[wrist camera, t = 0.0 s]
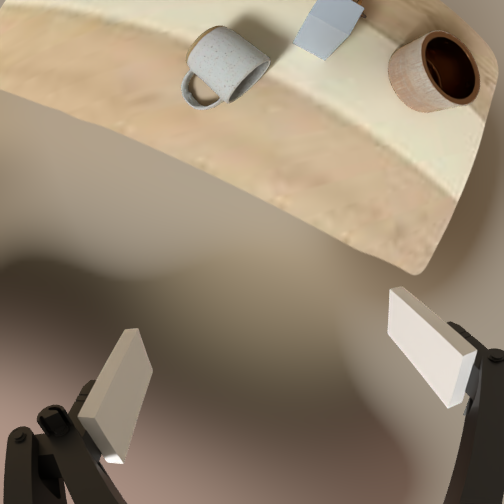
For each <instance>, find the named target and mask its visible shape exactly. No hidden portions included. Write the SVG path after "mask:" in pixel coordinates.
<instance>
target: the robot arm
mask: <svg viewBox="0 0 504 504" xmlns="http://www.w3.org/2000/svg"><path fill="white" fill-rule="evenodd" d="M388 319H389V320H388V335H389V336H390V337H391V338H392V339H393V341H394V342H395V343H396V344H397V346H398V347H399V348H400V349H401V350H402V352H403V353H404V354H405V355H406V356H407V358H408V359H409V360H410V361H411V363H412V364H413V365H414V366H415V367H416V369H417V370H418V371H419V372H420V374H421V375H422V376H423V377H424V379H425V380H426V381H427V383H428V384H429V385H430V386H431V388H432V389H433V390H434V391H435V393H436V394H437V395H438V396H439V398H440V399H441V400H442V402H443V403H444V404H445V406H446V407H447V408H450V407H452V406H455V405H457V404H459V403H461V402H462V399H463V397H464V394H465V392H466V393H467V394H468V395H469V396H470V398H469V401H468V403H467V406H466V409H465V411H464V414H463V415H466V417H465V422H464V427H463V433H462V437H461V442H460V446H459V451H458V455H457V459H456V463H455V467H454V470H453V474H452V477H451V481H450V485H449V487H448V491H447V494H446V497H445V500H444V503H443V504H502V499H503V494H504V351H503V350H501V349H489V350H488V349H487V348H486V347H485V346H484V345H482V344H481V343H480V342H479V341H478V340H477V339H475V338H474V337H473V336H471V335H470V334H469V333H468V332H466V331H465V329H463V328H462V327H461V326H460V325H457V324H455V323H453V322H447V323H446V322H445V321H444V320H442V319H441V318H440V317H439V316H438V315H436V314H435V313H434V312H433V311H432V310H431V309H429V308H428V307H426V305H424V304H423V303H422V302H421V301H420V300H418V299H417V298H416V297H415V296H413V295H412V294H411V293H410V292H409V291H407V290H406V289H405V288H404V287H402V286H401V287H397V288H392V289H390V298H389V318H388ZM152 372H153V370H152V367H151V364H150V362H149V359H148V356H147V353H146V350H145V347H144V345H143V342H142V339H141V336H140V333H139V330H138V328H135V329H126V330H124V332H123V334H122V335H121V337H120V339H119V341H118V342H117V344H116V346H115V348H114V349H113V351H112V353H111V355H110V356H109V358H108V360H107V362H106V364H105V365H104V367H103V369H102V371H101V373H100V374H99V376H98V378H97V380H90V381H89V382H88V383H87V384H86V385H85V386H83V388H82V390H81V392H80V394H79V396H78V397H77V399H76V402H74V404H73V406H72V408H71V410H70V412H69V413H68V414H67V412H66V410H65V409H64V408H63V407H62V406H60V405H51V406H48V407H46V408H44V409H43V410H42V411H41V412H40V413H39V414H38V416H37V422H38V424H39V425H40V427H41V428H42V430H43V431H44V432H45V434H37V435H34V434H33V432H32V431H31V430H30V428H28V427H25V426H24V427H18V428H16V429H14V430H13V431H12V432H11V433H10V435H9V437H8V442H7V451H6V460H5V474H4V504H67V500H66V493H65V486H64V482H65V484H66V486H67V488H68V491H69V492H70V495H71V497H72V499H73V501H74V503H75V504H127V503H126V501H125V500H124V499H123V497H122V496H121V494H120V493H119V491H118V490H117V488H116V487H115V485H114V483H113V482H112V480H111V479H110V477H109V476H108V474H107V472H106V471H105V469H104V468H103V466H102V465H101V463H100V462H99V460H100V457H101V454H102V455H103V457H104V458H105V460H106V461H107V462H109V463H119V464H124V462H125V458H126V455H127V451H128V448H129V444H130V441H131V438H132V435H133V431H134V428H135V425H136V421H137V418H138V415H139V412H140V409H141V406H142V402H143V399H144V396H145V393H146V390H147V387H148V384H149V381H150V378H151V375H152Z"/></svg>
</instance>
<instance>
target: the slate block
mask: <svg viewBox="0 0 504 504" xmlns="http://www.w3.org/2000/svg"><path fill="white" fill-rule="evenodd" d="M363 10H364V8H363V7H362V6H360V5H358V4H357V3H355V2H353V1H352V0H317V1H316V3H315V5H314V6H313V8H312V9H311V11H310V12H309V14H308V16H307V18H306V19H305V21H304V23H303V25H302V27H301V28H300V30H299V32H298V34H297V36H296V38H295V40H294V41H293V44H295V45H297V46H299V47H301V48H303V49H304V50H306V51H308V52H310V53H312V54H314V55H316V56H317V57H319V58H321V59H323V60H326V59H327V58H328V57H329V56H330V55H331V54H332V53H333V52H334V51H335V49H336V48H337V47H338V46H339V45H340V44H341V43H342V42H343V41H344V40H345V39H346V38H347V37H348V36H349V35H350V33H351V32H352V30H353V28H354V26H355V24H356V23H357V21H358V19H359V17H360V15H361V14H362V12H363Z"/></svg>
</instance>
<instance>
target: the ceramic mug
mask: <svg viewBox="0 0 504 504" xmlns="http://www.w3.org/2000/svg"><path fill="white" fill-rule="evenodd" d="M186 63H187V65H188V66H189V68H190V70H189V71H188V72H187V74H186V75H185V77H184V79H183V81H182V85H181V91H182V95H183V97H184V99H185V101H186V102H187V103H188V104H189V105H190V106H191V107H193V108H194V109H198V110H206V109H210V108H213V107H216V106H217V105H219V104H221V103H222V102H223V101H225V102H226V103H231V102H233V101H235V100H236V99H238V98H239V97H241V96H242V95H243V94H244V93H245V92H246V91H248V90H249V89H250V88H251V87H252V86H253V85H254V84H255V83H256V82H257V81H258V80H259V79H260V78H261V76H262V75H263V74H264V73H265V72H266V70H267V69H268V67H269V65H270V63H271V59H270V58H269V57H268V56H267V55H265V54H264V53H263V52H261V51H260V50H259V49H257V48H256V47H255V46H254V45H252V44H251V43H249V42H248V41H247V40H245V39H244V38H242V37H241V36H240V35H239V34H237V33H236V32H234V31H233V30H231V29H229V28H227V27H224V26H215V27H212V28H210V29H208V30H207V31H205V32H204V33H202V34H201V35H200V36H199V37H198V38H197V39H196V40H195V42H194V43H193V44H192V45H191V47H190V48H189V50H188V52H187V55H186ZM194 73H195V74H196V75H197V76H198V77H199V78H200V79H202V80H203V81H204V82H205V83H206V84H207V85H208V86H209V87H210V88H211V89H212V90H213V91H214V92H215V93H216V94H217V95H218V96H219V97H220V98H219V100H218V101H216V102H214V103H213V104H211V105H209V106H202V105H200V104H199V103H198V102H197V101H196V100H195V99H194V98H193V96H192V94H191V92H189V91H188V84H189V81H190V79H191V77H192V76H193V74H194Z"/></svg>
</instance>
